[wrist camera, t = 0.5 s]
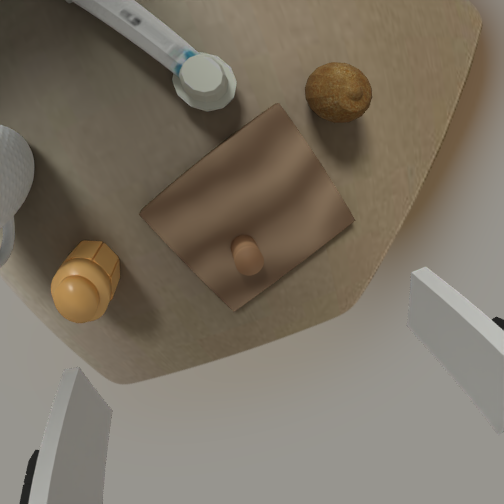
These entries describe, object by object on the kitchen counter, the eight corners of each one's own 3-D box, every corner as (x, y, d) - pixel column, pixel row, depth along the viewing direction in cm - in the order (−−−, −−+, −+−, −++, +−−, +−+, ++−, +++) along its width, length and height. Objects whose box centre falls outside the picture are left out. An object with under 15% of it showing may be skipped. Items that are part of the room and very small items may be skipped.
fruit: (317, 132, 32) (351, 138, 25) (283, 87, 30) (310, 79, 23) (357, 102, 32) (397, 102, 24) (326, 57, 29) (361, 45, 22)
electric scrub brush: (74, -51, 15) (252, 73, 22) (94, -26, 22) (246, 88, 29) (37, -15, 16) (205, 118, 23) (63, 5, 23) (209, 124, 30)
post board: (140, 210, 32) (132, 227, 27) (275, 103, 30) (291, 101, 25) (232, 305, 39) (239, 332, 34) (349, 216, 37) (372, 232, 32)
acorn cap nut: (60, 263, 33) (35, 299, 26) (92, 229, 32) (69, 260, 25) (97, 299, 35) (81, 340, 28) (130, 268, 35) (118, 307, 28)
